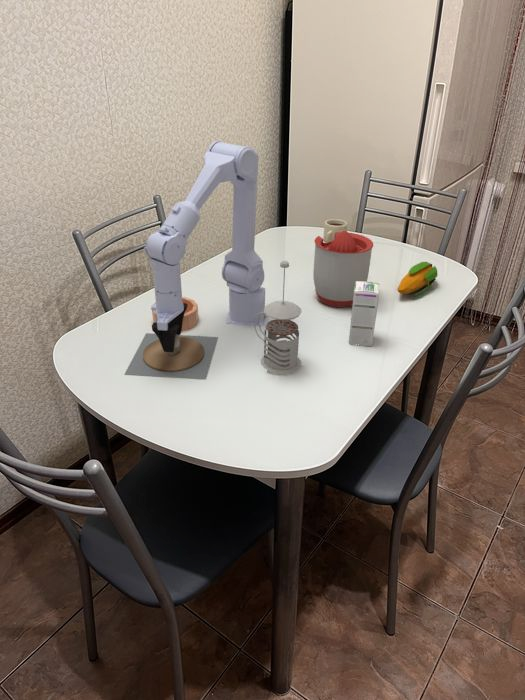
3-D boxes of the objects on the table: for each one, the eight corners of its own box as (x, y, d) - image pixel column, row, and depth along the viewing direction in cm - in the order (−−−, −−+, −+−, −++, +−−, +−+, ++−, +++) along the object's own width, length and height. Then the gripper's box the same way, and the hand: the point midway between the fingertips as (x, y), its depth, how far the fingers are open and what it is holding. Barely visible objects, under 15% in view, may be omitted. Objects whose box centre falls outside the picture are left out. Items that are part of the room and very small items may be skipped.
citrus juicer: (337, 280, 158) (344, 216, 147) (377, 303, 145) (387, 234, 135) (295, 292, 150) (299, 225, 140) (333, 316, 138) (341, 245, 127)
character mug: (335, 268, 165) (339, 229, 158) (315, 264, 168) (318, 225, 161) (349, 258, 173) (353, 219, 166) (329, 253, 176) (333, 216, 169)
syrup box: (372, 347, 125) (380, 292, 118) (347, 344, 126) (354, 290, 119) (372, 335, 130) (380, 282, 122) (349, 332, 131) (355, 280, 123)
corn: (445, 259, 153) (414, 280, 140) (441, 283, 157) (411, 306, 144) (421, 254, 158) (390, 274, 144) (418, 278, 161) (387, 299, 148)
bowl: (201, 313, 139) (200, 297, 136) (193, 334, 129) (192, 318, 127) (160, 310, 139) (158, 295, 137) (149, 331, 130) (147, 316, 127)
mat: (218, 338, 128) (218, 337, 127) (205, 380, 112) (205, 379, 112) (146, 334, 129) (146, 333, 128) (124, 376, 113) (124, 374, 113)
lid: (208, 340, 126) (207, 323, 123) (198, 373, 114) (197, 355, 111) (151, 337, 127) (149, 320, 124) (135, 370, 115) (133, 351, 112)
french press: (288, 380, 113) (294, 274, 100) (244, 364, 118) (244, 261, 105) (309, 359, 120) (317, 258, 107) (266, 345, 125) (269, 246, 112)
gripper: (157, 273, 118) (162, 325, 125) (140, 302, 105) (146, 358, 113) (188, 275, 117) (191, 327, 124) (174, 304, 105) (179, 360, 112)
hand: (172, 342), depth 118 cm, fingers open, 7 cm apart
